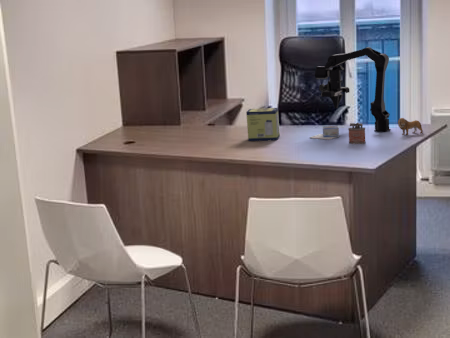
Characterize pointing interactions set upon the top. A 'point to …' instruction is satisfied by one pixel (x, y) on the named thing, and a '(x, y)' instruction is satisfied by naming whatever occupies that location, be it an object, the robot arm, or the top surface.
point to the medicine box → (330, 131)
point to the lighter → (356, 134)
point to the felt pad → (320, 136)
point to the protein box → (263, 124)
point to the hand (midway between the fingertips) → (336, 108)
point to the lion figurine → (409, 125)
